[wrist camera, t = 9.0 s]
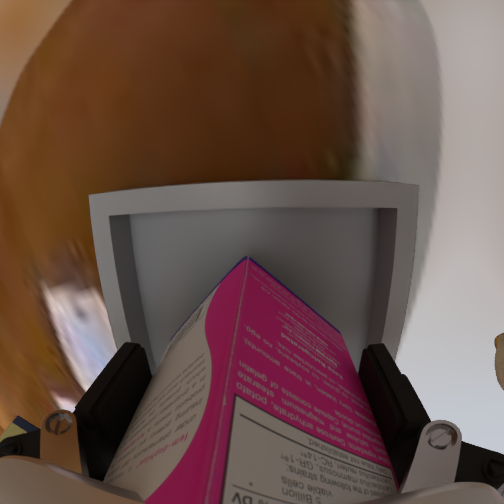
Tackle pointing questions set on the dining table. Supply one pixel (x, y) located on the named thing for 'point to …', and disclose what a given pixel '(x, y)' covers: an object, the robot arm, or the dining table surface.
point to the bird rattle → (499, 359)
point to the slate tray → (257, 252)
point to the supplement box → (254, 408)
